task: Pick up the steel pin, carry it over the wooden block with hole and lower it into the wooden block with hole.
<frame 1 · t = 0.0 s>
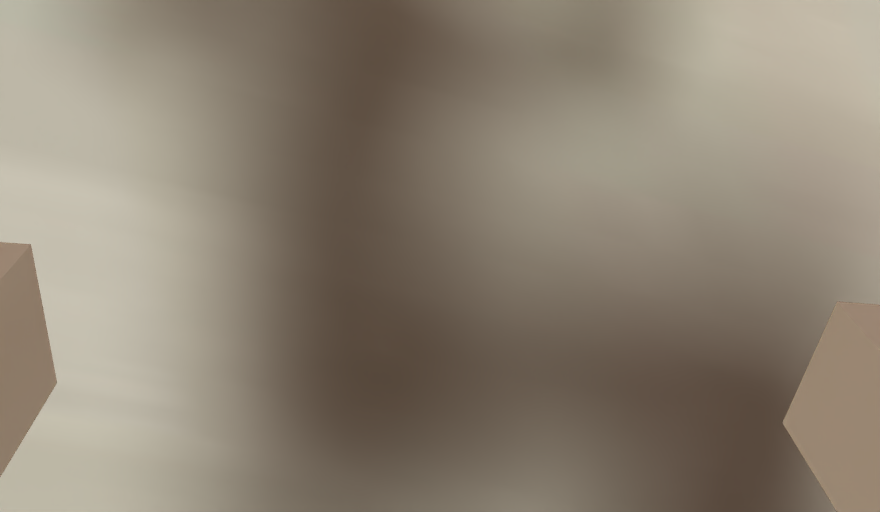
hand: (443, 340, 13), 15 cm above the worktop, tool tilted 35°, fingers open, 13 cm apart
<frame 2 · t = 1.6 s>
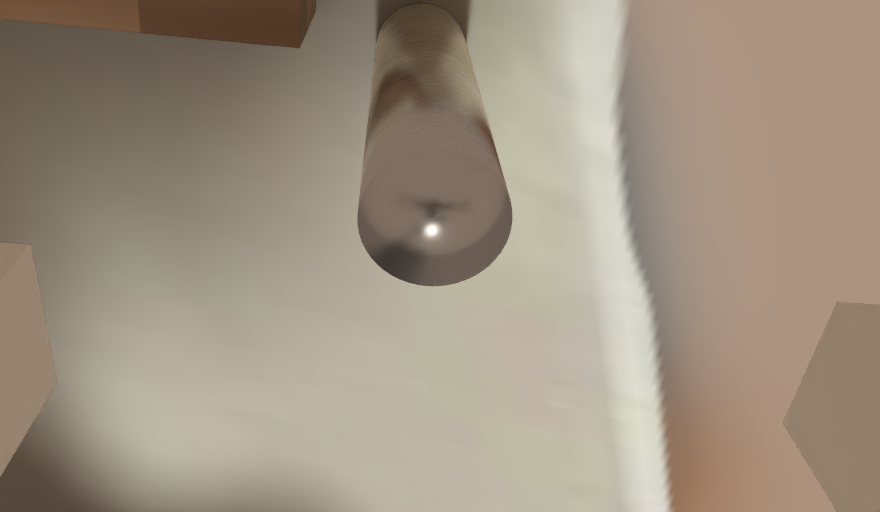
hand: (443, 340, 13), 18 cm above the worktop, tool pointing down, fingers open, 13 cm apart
steel pin: (420, 49, 29), on the worktop
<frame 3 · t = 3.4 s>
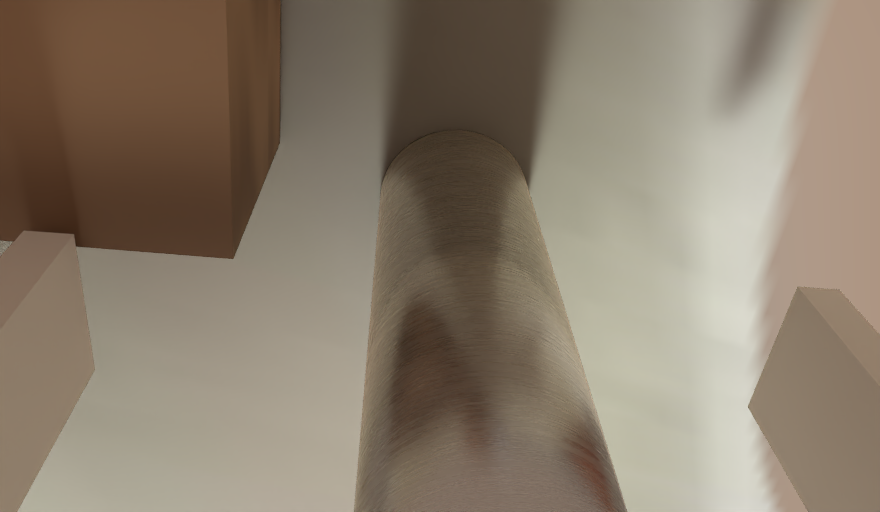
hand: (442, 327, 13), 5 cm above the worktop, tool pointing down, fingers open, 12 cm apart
steel pin: (454, 199, 18), on the worktop
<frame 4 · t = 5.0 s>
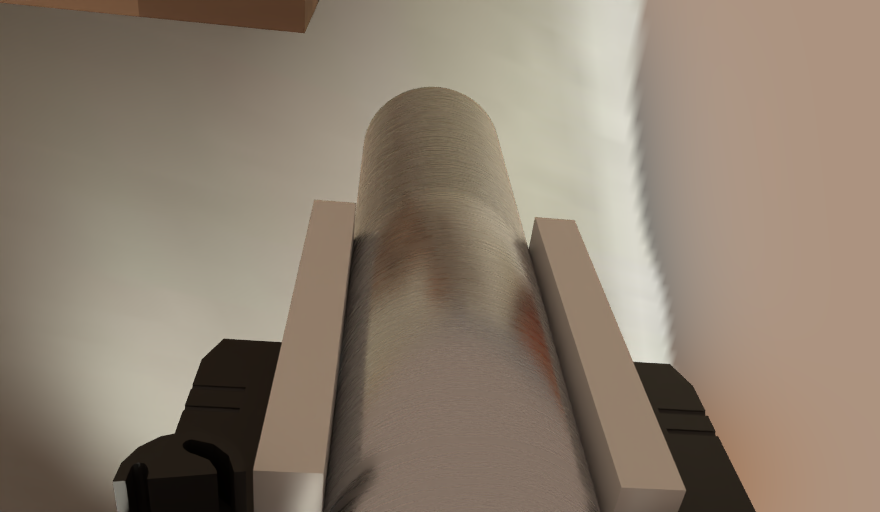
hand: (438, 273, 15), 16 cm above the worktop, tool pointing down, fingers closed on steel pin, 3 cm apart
steel pin: (431, 152, 19), point 10 cm above the worktop, touching gripper
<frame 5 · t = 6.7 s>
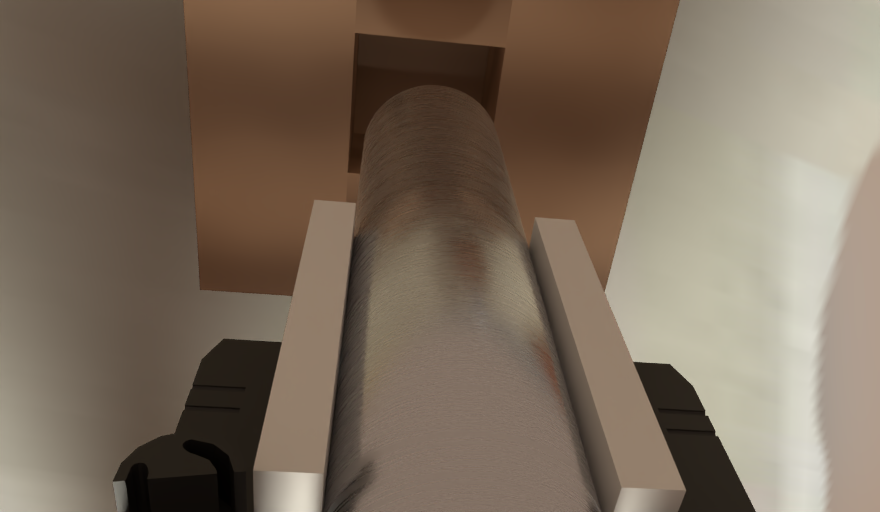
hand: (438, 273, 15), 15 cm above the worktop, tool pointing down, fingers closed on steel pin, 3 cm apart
wooden block with hole: (420, 65, 27), on the worktop
steel pin: (431, 150, 19), point 9 cm above the worktop, touching gripper
when the fingers open (6 cm above the worktop, at t = 8.8 s): steel pin stays where it is, resting on wooden block with hole.
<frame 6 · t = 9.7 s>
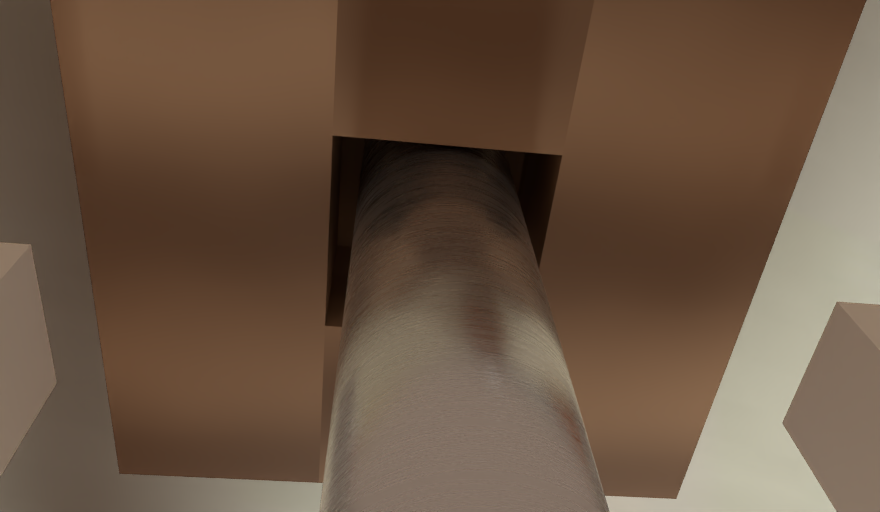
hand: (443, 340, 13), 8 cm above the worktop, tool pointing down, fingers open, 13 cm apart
wooden block with hole: (429, 150, 20), on the worktop
steel pin: (433, 160, 18), point 2 cm above the worktop, touching wooden block with hole
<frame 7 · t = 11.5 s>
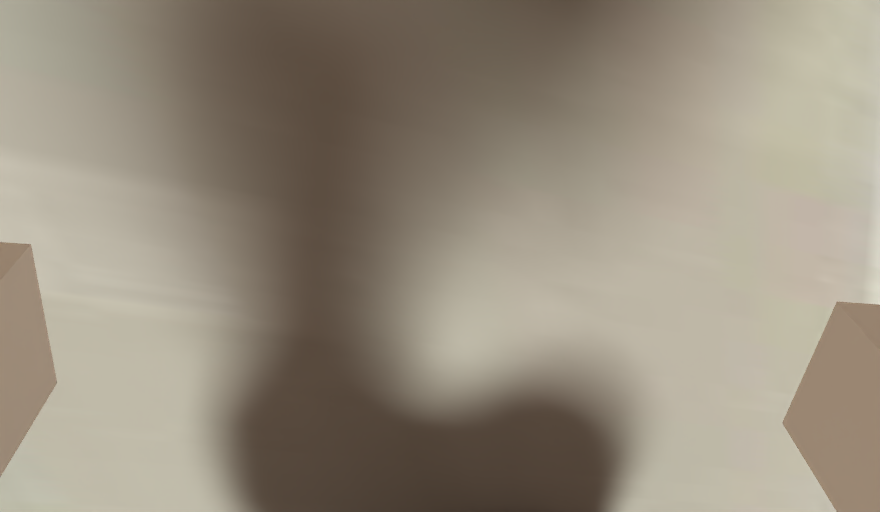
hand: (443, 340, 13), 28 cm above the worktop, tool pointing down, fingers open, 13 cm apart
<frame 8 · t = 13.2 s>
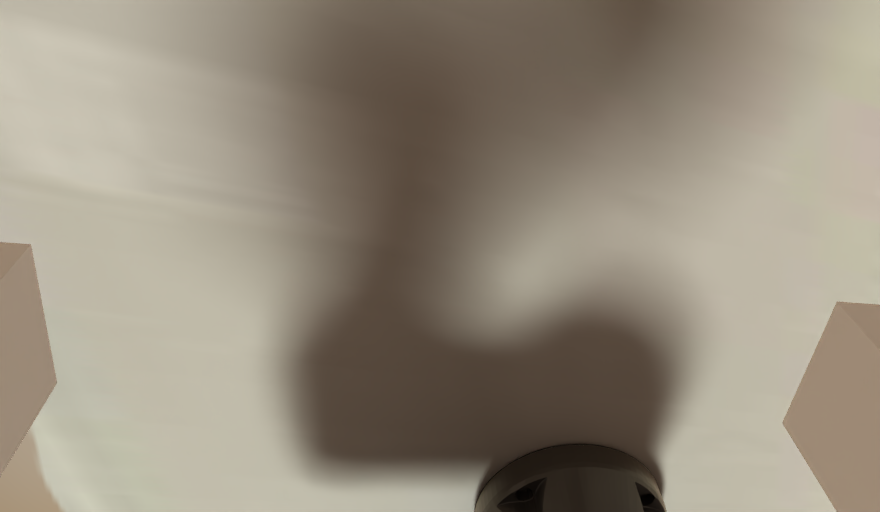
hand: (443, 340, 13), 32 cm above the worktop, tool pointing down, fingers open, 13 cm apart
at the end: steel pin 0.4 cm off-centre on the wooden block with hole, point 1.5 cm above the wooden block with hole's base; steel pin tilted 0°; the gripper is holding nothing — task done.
